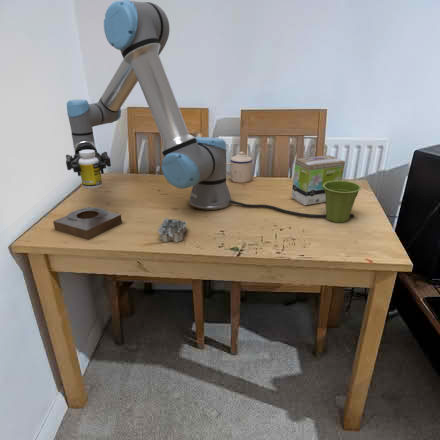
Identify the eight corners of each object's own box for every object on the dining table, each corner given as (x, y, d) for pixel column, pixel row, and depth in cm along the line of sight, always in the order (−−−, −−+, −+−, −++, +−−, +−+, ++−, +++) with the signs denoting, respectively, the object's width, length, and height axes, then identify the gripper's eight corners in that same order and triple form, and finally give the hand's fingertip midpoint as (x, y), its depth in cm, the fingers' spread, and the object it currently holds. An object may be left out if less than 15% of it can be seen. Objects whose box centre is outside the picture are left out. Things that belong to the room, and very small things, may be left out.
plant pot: (311, 215, 140) (315, 183, 134) (340, 210, 144) (345, 178, 138) (333, 228, 131) (338, 193, 125) (362, 222, 135) (369, 188, 129)
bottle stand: (124, 222, 137) (123, 213, 135) (88, 239, 125) (86, 230, 124) (89, 213, 144) (88, 205, 142) (52, 229, 132) (50, 220, 131)
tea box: (305, 206, 148) (310, 165, 140) (290, 198, 155) (294, 158, 148) (339, 200, 153) (346, 160, 145) (323, 192, 161) (328, 153, 153)
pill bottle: (99, 189, 130) (93, 153, 124) (80, 189, 130) (73, 153, 124) (105, 183, 135) (99, 148, 129) (86, 183, 135) (80, 148, 129)
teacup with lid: (250, 176, 179) (251, 149, 173) (252, 183, 172) (253, 154, 165) (223, 177, 179) (223, 149, 173) (223, 183, 172) (223, 155, 165)
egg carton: (181, 243, 123) (180, 230, 120) (157, 242, 123) (155, 229, 121) (188, 228, 132) (187, 216, 129) (165, 227, 132) (164, 215, 130)
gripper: (115, 161, 148) (123, 179, 129) (59, 166, 143) (59, 185, 124) (112, 139, 144) (120, 155, 125) (54, 143, 139) (54, 160, 120)
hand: (90, 170), depth 125 cm, fingers closed on pill bottle, 6 cm apart
